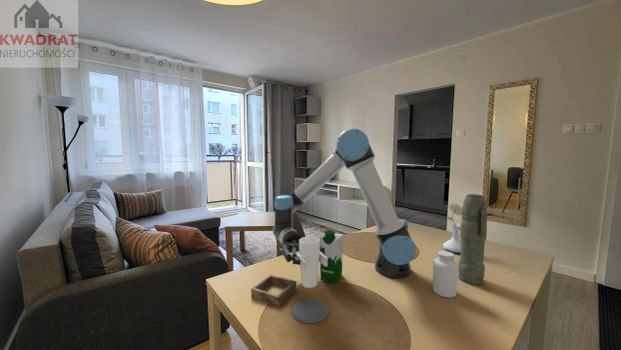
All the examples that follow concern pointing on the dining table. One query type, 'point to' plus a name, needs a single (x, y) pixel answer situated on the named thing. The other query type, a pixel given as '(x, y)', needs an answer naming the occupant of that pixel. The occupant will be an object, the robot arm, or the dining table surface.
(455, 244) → the flower in vase
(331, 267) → the milk carton
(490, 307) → the dining table surface
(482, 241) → the thermos
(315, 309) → the rubber coaster
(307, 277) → the drinking glass
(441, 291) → the pill bottle
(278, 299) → the walnut collar
